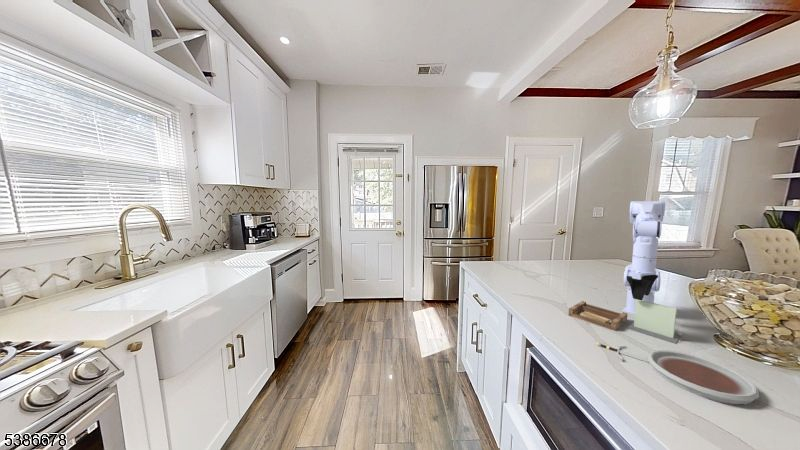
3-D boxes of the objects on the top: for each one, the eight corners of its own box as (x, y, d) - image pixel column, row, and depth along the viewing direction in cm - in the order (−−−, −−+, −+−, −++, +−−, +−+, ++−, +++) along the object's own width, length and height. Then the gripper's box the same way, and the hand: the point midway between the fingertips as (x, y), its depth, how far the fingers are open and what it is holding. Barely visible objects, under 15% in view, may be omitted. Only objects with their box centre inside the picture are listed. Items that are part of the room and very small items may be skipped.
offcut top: (584, 314, 93) (584, 311, 93) (609, 322, 87) (609, 319, 86) (579, 316, 91) (579, 313, 91) (604, 325, 85) (605, 322, 85)
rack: (582, 308, 99) (582, 301, 99) (626, 321, 88) (627, 313, 88) (568, 316, 93) (568, 308, 92) (615, 331, 81) (615, 323, 81)
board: (635, 324, 85) (637, 299, 84) (674, 336, 77) (676, 308, 76) (633, 326, 84) (635, 300, 83) (673, 338, 76) (675, 309, 76)
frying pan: (600, 328, 80) (749, 368, 60) (600, 337, 80) (748, 380, 60) (589, 351, 68) (771, 410, 48) (589, 361, 68) (770, 424, 48)
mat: (634, 322, 87) (634, 321, 87) (681, 336, 78) (681, 334, 78) (626, 329, 83) (627, 327, 83) (675, 345, 74) (675, 343, 74)
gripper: (634, 252, 90) (631, 289, 91) (621, 257, 82) (618, 297, 83) (662, 256, 84) (659, 295, 85) (651, 261, 76) (647, 304, 77)
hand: (640, 296), depth 84 cm, fingers open, 7 cm apart
